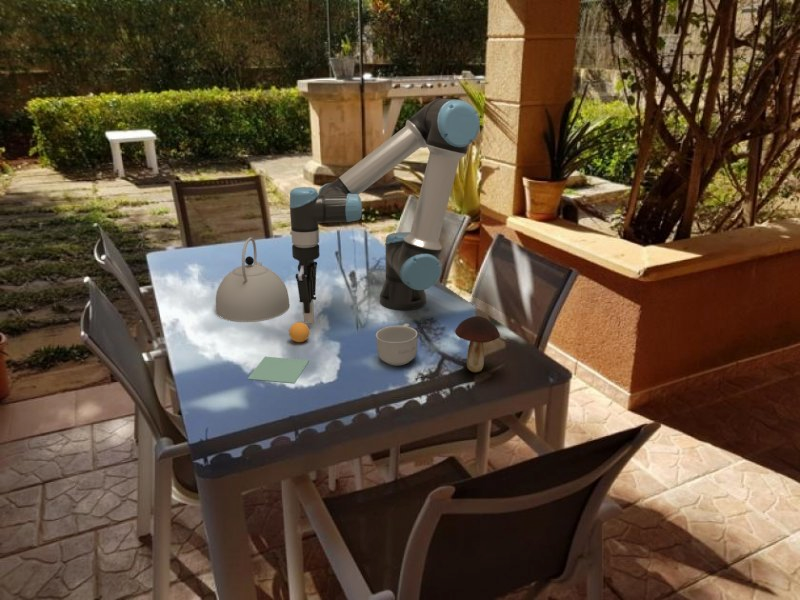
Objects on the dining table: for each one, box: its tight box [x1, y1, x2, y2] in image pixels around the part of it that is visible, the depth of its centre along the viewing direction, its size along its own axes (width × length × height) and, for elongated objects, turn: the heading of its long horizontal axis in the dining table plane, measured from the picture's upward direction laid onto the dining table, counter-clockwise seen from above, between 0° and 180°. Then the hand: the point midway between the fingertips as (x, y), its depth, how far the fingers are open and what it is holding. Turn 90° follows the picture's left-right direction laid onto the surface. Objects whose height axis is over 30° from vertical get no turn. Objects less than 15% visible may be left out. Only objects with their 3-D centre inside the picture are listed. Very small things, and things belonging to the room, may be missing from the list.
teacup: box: [375, 323, 418, 367], centre depth 155 cm, size 14×11×8 cm
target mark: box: [247, 356, 310, 384], centre depth 150 cm, size 12×12×1 cm
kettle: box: [215, 236, 290, 323], centre depth 185 cm, size 25×23×22 cm
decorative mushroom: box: [454, 315, 501, 373], centre depth 148 cm, size 11×11×15 cm
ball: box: [289, 322, 310, 343], centre depth 164 cm, size 6×6×6 cm
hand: (308, 321), depth 173 cm, fingers closed
